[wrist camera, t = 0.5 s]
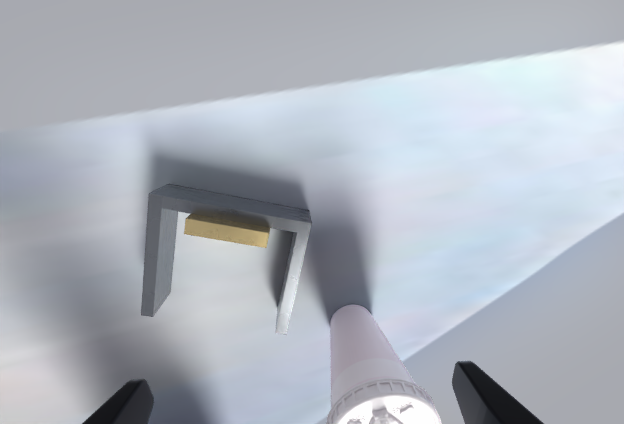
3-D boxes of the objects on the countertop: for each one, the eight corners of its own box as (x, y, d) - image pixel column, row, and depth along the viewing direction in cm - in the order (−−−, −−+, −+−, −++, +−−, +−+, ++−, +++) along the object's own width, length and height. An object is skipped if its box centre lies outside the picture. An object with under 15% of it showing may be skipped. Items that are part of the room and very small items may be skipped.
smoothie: (324, 361, 26) (359, 610, 13) (305, 301, 24) (323, 521, 11) (393, 342, 26) (502, 573, 13) (380, 281, 24) (490, 477, 11)
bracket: (286, 309, 24) (286, 344, 20) (159, 291, 23) (133, 324, 19) (309, 210, 22) (312, 228, 18) (168, 183, 21) (140, 197, 17)
